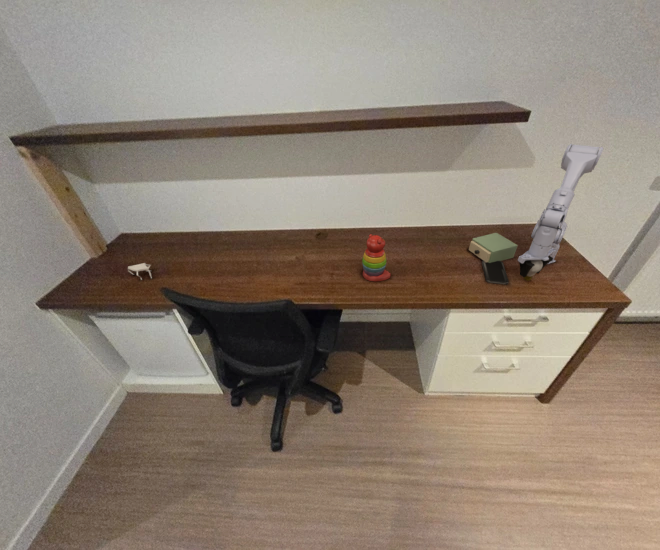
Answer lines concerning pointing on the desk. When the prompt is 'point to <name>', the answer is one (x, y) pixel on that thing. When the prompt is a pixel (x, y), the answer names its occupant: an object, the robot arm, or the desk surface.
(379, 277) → the stacking bear
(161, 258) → the desk surface
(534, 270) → the light bulb
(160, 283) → the desk surface
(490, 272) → the phone
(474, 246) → the drawer
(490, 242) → the cabinet
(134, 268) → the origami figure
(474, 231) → the desk surface
